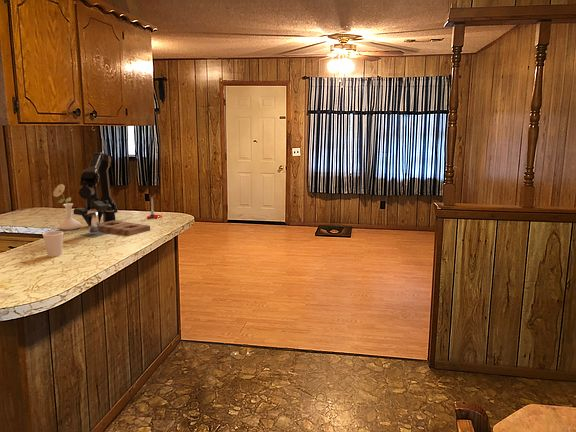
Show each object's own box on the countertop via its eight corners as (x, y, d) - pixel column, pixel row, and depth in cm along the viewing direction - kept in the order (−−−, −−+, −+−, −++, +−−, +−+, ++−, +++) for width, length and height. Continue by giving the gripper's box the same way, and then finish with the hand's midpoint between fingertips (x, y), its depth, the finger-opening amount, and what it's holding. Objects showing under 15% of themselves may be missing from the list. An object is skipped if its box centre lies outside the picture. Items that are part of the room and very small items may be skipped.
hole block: (92, 230, 260) (92, 224, 259) (113, 225, 272) (113, 220, 271) (130, 236, 246) (129, 230, 246) (150, 231, 258) (150, 225, 258)
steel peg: (87, 231, 248) (85, 212, 246) (95, 230, 252) (93, 211, 250) (93, 232, 245) (92, 213, 243) (101, 231, 249) (100, 212, 247)
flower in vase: (74, 226, 270) (70, 181, 265) (86, 228, 264) (82, 183, 259) (51, 230, 260) (47, 183, 255) (63, 233, 253) (59, 185, 248)
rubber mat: (78, 236, 247) (78, 235, 247) (96, 231, 256) (96, 230, 256) (93, 238, 241) (93, 237, 241) (110, 234, 251) (110, 233, 251)
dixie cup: (59, 251, 218) (57, 229, 216) (68, 254, 213) (67, 232, 211) (40, 255, 212) (38, 233, 210) (49, 258, 206) (47, 236, 204)
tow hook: (151, 216, 300) (145, 218, 291) (151, 195, 298) (144, 197, 289) (164, 216, 299) (158, 219, 290) (164, 196, 297) (158, 197, 288)
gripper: (86, 199, 233) (89, 231, 236) (117, 194, 249) (119, 224, 252) (71, 197, 238) (74, 228, 241) (102, 192, 254) (104, 221, 257)
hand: (94, 225), depth 248 cm, fingers closed on steel peg, 5 cm apart
